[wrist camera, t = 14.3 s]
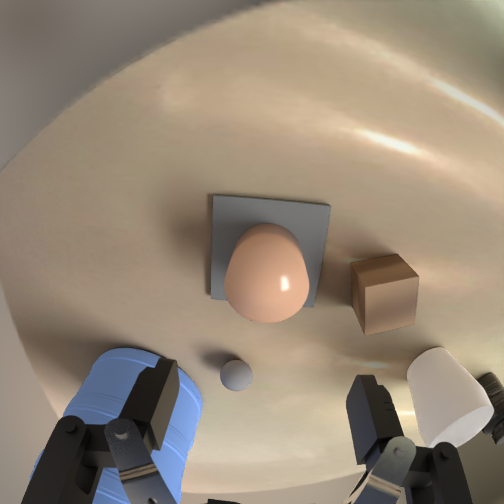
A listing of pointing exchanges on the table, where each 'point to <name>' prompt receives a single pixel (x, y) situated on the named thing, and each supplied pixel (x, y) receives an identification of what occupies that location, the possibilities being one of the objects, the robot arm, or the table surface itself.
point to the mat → (267, 211)
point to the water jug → (109, 407)
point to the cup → (446, 399)
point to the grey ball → (236, 375)
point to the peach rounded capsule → (266, 274)
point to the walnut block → (384, 293)
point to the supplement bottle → (500, 424)
